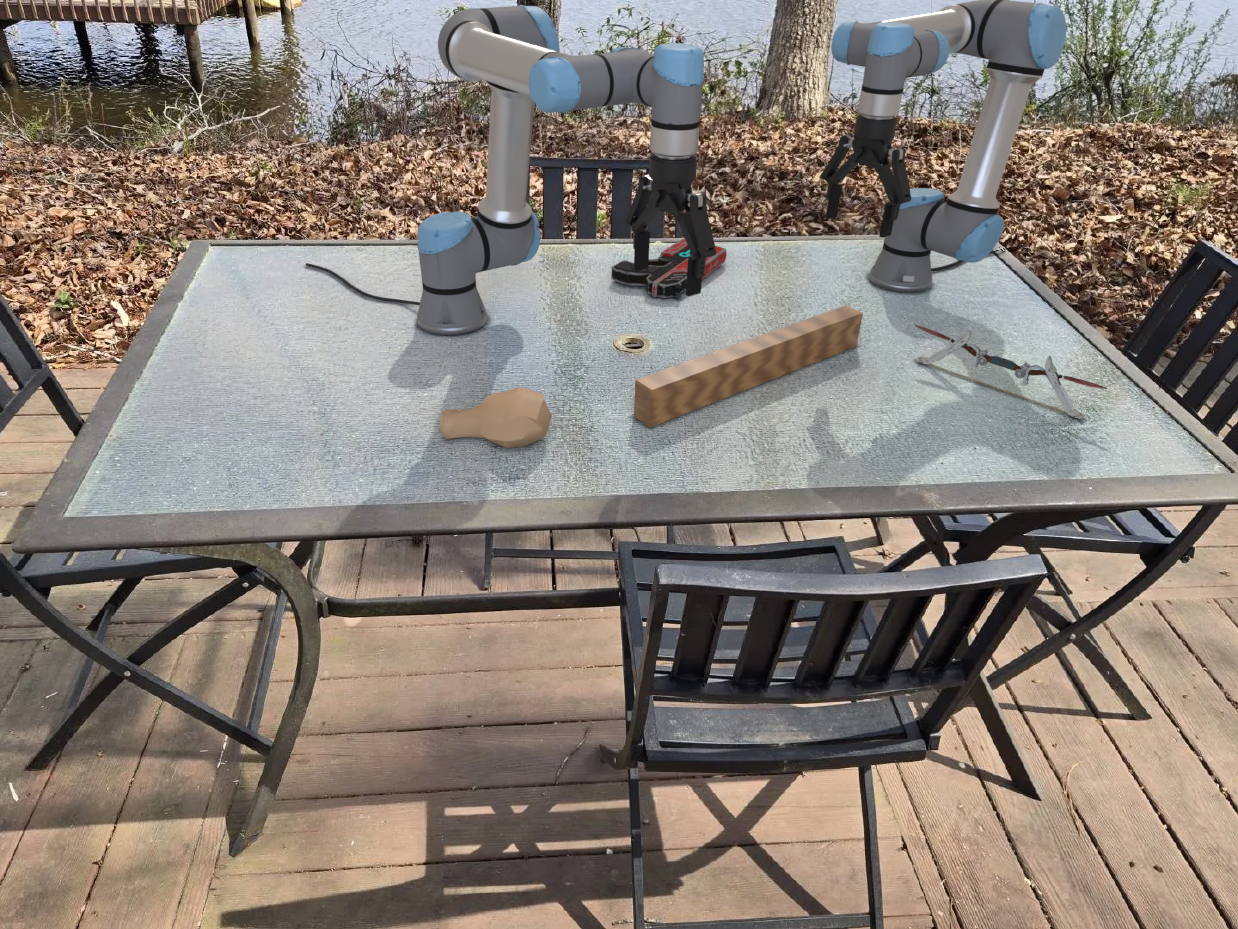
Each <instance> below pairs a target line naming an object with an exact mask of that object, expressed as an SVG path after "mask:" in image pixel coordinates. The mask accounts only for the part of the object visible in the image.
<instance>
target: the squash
mask: <svg viewBox="0 0 1238 929" xmlns="http://www.w3.org/2000/svg"><path fill="white" fill-rule="evenodd" d="M440 414H441V417H440V422H439V430H438V431H439V433H440V434H441V435H442V436H443V437H444V438H445V440H447V439H449V440H451V439H457V438H469V437H471V438H473V437H474V438H480V439H486V440H488V441H490V442H492V443H494V444H496V445H498V446H501V447H503V448H504V449H505V448H506V449H511V448H525V447H527V446H529V445H532V444H533V443H536V442H537V441H539V440H541V439H543V438H545V437H546V435H547V433H548V431H549V428H550V424H551V420H552V417H553V416H552V413H551V411H550V408H549V407H548V404H547V403H546V401H545V395H544V393H541V392H539V391H535V390H532V389H530V388H525V387H515V388H512V389H509V390H506V391H498V392H493V393H491V394H490V395H488V396H487V397H485V398H484V399H483V401H482V402H481V403H479V404H478V405H477V404H476V406H474V407H471V408H470V407H469V408H463V409H447V408H446V409H444V410H441V411H440Z"/></svg>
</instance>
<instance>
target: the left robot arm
mask: <svg viewBox="0 0 1238 929" xmlns="http://www.w3.org/2000/svg"><path fill="white" fill-rule="evenodd" d="M444 22H445V23H444V24H443V26H442V27H441V29H440V31H439V33H438V39H437V51H438V55H439V58H440V60H441V62H442V64H443V65H444V67H445V68H446V70H447V71H449V73H450V74H452V75H454V76H456V77H457V78H459V79H461V80H462V79H463V80H465V81H468V82H474V83H475V82H481V81H484V82H485V83H486V85H487V86H488V87H489V88H490V89H491V91H490V108H489V110H490V111H489V112H490V113H489V129H488V145H487V146H488V147H487V167H486V182H485V184H486V185H485V197H484V198H482V199H481V200H480V201H479V202H478V206H477V215H476V216H474V217H471V216H470V215H469V214H468V213H466V212H463V211H456V210H455V211H452V212H450V211H444V212H440V213H436V214H433V215H431V216H429V217H427V218H425V219H424V220H423V221H422V222H420V224H419V226H418V227H417V232H416V233H417V245H416V248H417V250H418V258H419V259H418V260H419V267H420V275H421V276H420V277H421V284H422V292H421V297H420V301H413V300H405V299H399V298H391V297H383V296H378V295H373V294H370V293H367V292H365V291H362V290H361V289H360V288H358V287H356V286H354V285H352V284H351V283H350V282H348V281H347V280H346V279H345V278H343V277H342V276H341V275H339V274H337V273H336V272H334V271H332V269H328V268H326V267H323V266H320V265H316V264H312V263H308V262H306V263H305V266H306V267H309V268H313V269H317V270H319V271H324V272H326V273H328V274H330V275H332V276H333V277H335V278H337V279H338V280H339V281H341V282H343V283H344V284H345V285H346V286H348V287H349V288H350V289H352V290H353V291H355V292H357V293H359V294H360V295H362V296H365V297H367V298H370V299H374V300H378V301H383V302H390V303H398V304H400V303H401V304H407V305H412V306H413V305H414V306H418V310H417V315H416V318H417V325H418V326H419V328H420V329H421V330H423V331H424V332H427V333H430V334H433V335H440V336H459V335H465V334H469V333H473V332H476V331H477V330H480V329H481V328H483V327H484V326H485V325H486V323H487V320H488V316H487V310H486V306H485V304H484V302H483V299H482V298H481V295H480V293H479V291H478V288H477V278H476V277H477V276H476V274H477V273H478V274H479V273H483V272H488V271H492V270H496V269H501V268H504V267H509V266H511V267H512V266H517V265H521V264H522V263H526V262H529V261H531V260H532V259H533V258H534V257H535V256H536V254H537V253H538V250H539V248H540V244H541V229H540V228H539V227H540V223H539V218H538V217H537V216H536V214H535V212H534V211H533V209H532V207H531V205H530V204H529V203H528V202H527V194H528V193H527V192H528V181H529V169H530V158H531V147H532V137H533V124H534V115H535V114H534V113H535V105H536V107H537V109H538V110H539V111H541V112H542V113H546V114H547V113H548V114H550V113H558V114H564V113H567V112H572V111H578V110H586V109H594V108H602V107H610V106H618V105H625V104H640V105H642V106H645V107H649V108H651V119H650V135H649V137H650V142H649V150H650V151H651V153H650V155H649V163H648V164H649V166H648V174H644V175H639V178H638V185H637V190H636V191H635V192H636V193H635V195H634V198H633V200H632V202H631V205H630V208H629V210H628V213H627V214H626V217H625V220H624V223H625V226H627V227H631V231H632V233H633V236H632V240H633V241H632V247H633V250H634V253H633V263H634V270H635V271H640V270H643V269H647V268H648V265H649V259H650V241H651V240H650V239H651V231H649V230H650V225H651V224H652V223H653V221H654V220H655V219H656V217H657V216H658V215H659V214H660V213H661V212H662V213H666V214H668V215H669V216H673V219H674V221H676V222H677V223H678V225H679V227H680V230H681V233H682V234H683V237H684V238H685V240H686V242H687V245H688V247H689V249H690V252H691V254H692V256H691V257H688V268H687V282H686V290H685V296H686V297H688V298H690V297H692V296H696V295H699V294H702V284H703V282H702V281H703V279H702V277H703V276H704V274H705V262H706V258H708V257H712V256H715V255H716V248H715V246H716V244H715V240H714V235H713V232H712V226H711V222H710V218H709V213H708V210H707V194H706V193H705V192H700V193H695V192H693V189H692V185H693V182H694V181H695V180H696V178H697V169H698V156H697V155H696V154H697V153H698V151H699V138H700V137H699V136H700V125H701V124H700V123H701V111H702V100H703V88H704V81H705V72H704V71H705V54H704V51H703V49H702V48H701V47H700V46H698V45H695V44H690V43H689V44H687V43H680V42H679V43H678V42H671V43H669V42H667V43H661V44H659V45H657V46H656V47H655V49H654V53H653V52H649V51H645V50H642V49H639V48H638V47H633V46H632V47H631V46H630V47H628V46H627V47H626V46H618V47H615V48H613V50H611V51H609V52H603V53H594V54H583V55H581V54H580V55H570V54H568V53H567V54H566V53H563V52H560V51H561V50H560V41H559V35H558V32H557V29H556V27H555V24H554V22H553V20H552V18H551V17H550V15H549V14H548V13H547V11H545V10H544V9H543V8H541V7H540V6H536V5H524V4H517V5H513V6H495V7H480V8H478V7H475V8H474V7H473V8H466V9H462V10H460V11H458V12H455V13H454V14H453V15H451V16H450V17H449V18H448V19H446V21H444ZM697 248H699V251H698V250H697Z"/></svg>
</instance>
